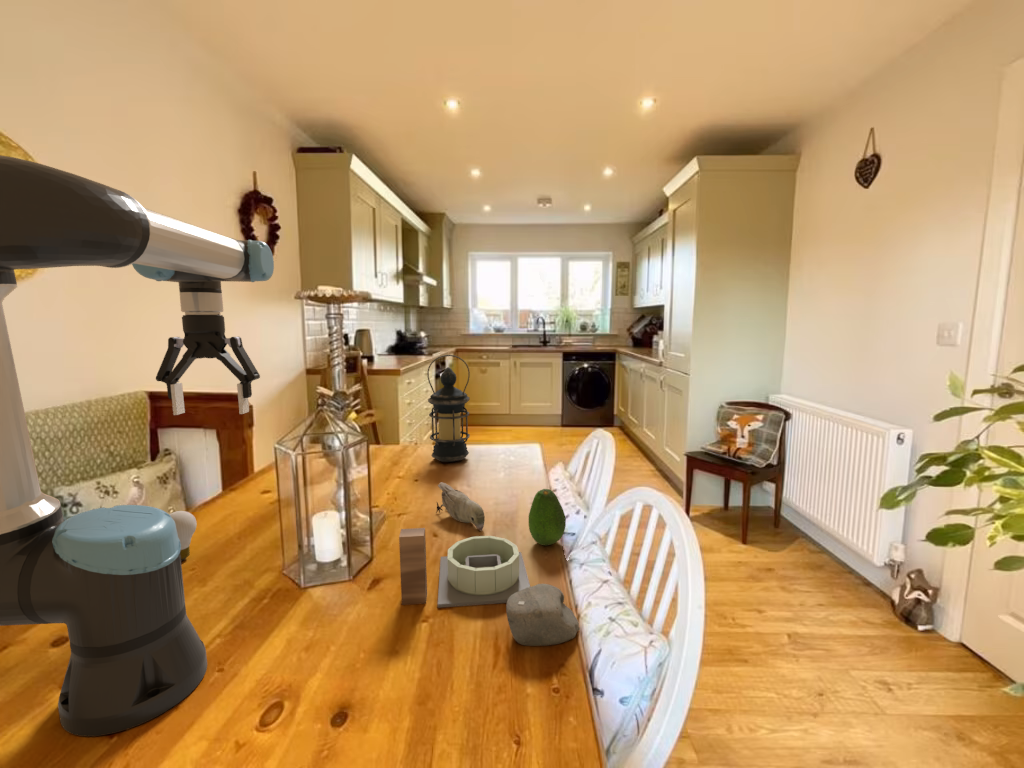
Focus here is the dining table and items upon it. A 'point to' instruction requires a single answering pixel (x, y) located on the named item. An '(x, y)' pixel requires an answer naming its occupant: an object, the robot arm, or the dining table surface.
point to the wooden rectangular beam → (413, 566)
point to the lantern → (449, 417)
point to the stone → (540, 616)
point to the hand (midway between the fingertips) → (211, 413)
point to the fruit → (546, 518)
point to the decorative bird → (461, 506)
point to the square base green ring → (481, 572)
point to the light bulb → (184, 530)
